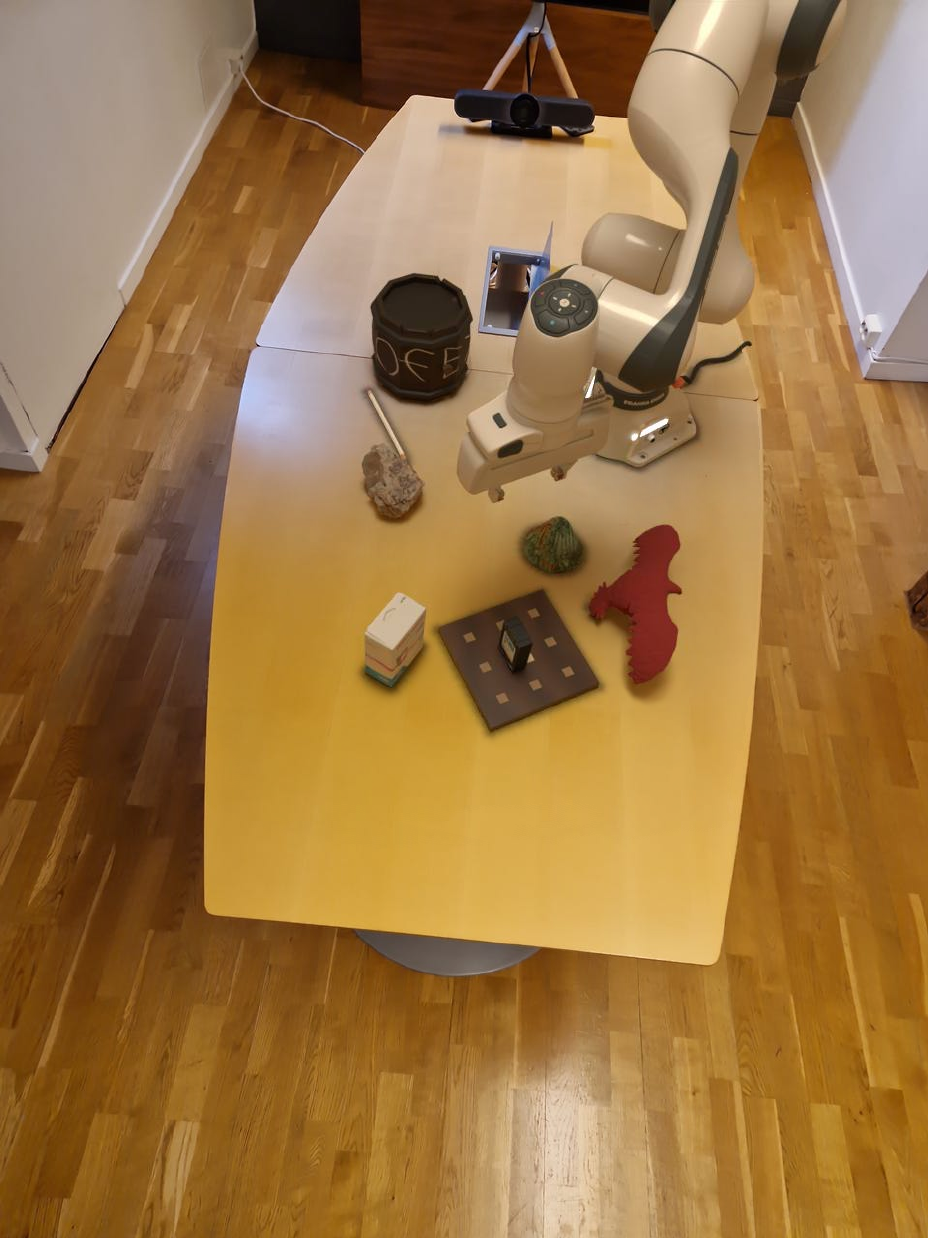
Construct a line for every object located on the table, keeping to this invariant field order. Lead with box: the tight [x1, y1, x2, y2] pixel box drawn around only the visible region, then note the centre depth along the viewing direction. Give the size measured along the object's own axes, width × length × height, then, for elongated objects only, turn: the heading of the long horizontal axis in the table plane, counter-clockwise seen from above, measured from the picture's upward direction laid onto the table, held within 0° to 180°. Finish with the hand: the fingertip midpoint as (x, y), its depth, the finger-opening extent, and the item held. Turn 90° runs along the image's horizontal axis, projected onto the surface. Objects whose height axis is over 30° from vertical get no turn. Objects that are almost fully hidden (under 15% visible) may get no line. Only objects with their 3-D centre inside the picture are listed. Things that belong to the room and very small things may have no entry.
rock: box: [361, 442, 426, 519], centre depth 133 cm, size 9×12×10 cm
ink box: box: [364, 591, 427, 688], centre depth 116 cm, size 9×5×12 cm, turn 148°
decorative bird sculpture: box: [587, 524, 683, 685], centre depth 124 cm, size 28×9×15 cm
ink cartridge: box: [498, 616, 533, 672], centre depth 118 cm, size 5×2×8 cm, turn 25°
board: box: [437, 588, 600, 732], centre depth 122 cm, size 18×18×1 cm
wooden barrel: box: [369, 272, 474, 404], centre depth 146 cm, size 18×18×16 cm
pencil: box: [365, 387, 406, 457], centre depth 145 cm, size 1×19×1 cm, turn 24°
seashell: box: [523, 515, 584, 574], centre depth 132 cm, size 10×4×10 cm
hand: (526, 487), depth 109 cm, fingers open, 8 cm apart
